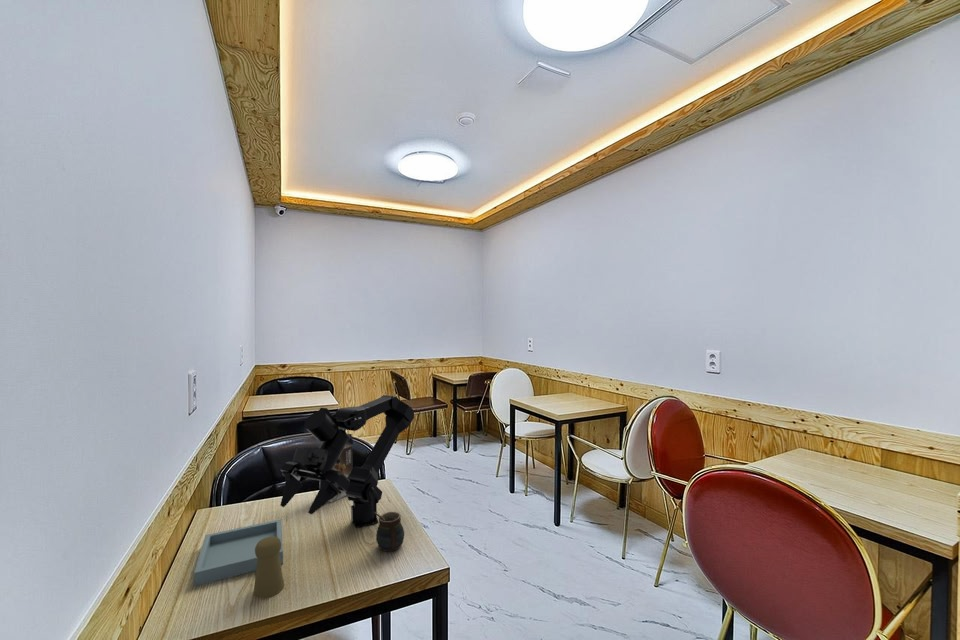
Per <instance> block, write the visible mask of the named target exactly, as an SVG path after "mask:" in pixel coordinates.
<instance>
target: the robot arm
mask: <svg viewBox="0 0 960 640" xmlns="http://www.w3.org/2000/svg"><path fill="white" fill-rule="evenodd" d="M380 414H383V415H385V419H384V420H385V426H384V428H383V429H382V432H381V434H380V435H379V437H378V438H377V440H376V442H375V444H374V445H373V447H372V449H371V450H370V452H369V454H368V456H367V458H366V460H365V461H364V463H363V464H362V465H361V466H360V467H359V466H353V469H352V471H351V473H350V475H349V476H348V477H346V476H345V475H344V474H343V473H342V472H341V471H336V470H332V469H333V467H334V465H335V464H339V463H340V460H339V459H338V458H339V456H340V455H341V453H342V451H343V449H344V447H345V446H346V445H353V444H354V438H353V434H351V433H347V432H346V431H352V432H356V431H359V430H360V429H361V428H363V427H364V426H365V425H366V424H367V421H368V420H370V419H373V418H374V417H377V416H378V415H380ZM414 419H415V411H414V410H413V407H411V406H410V405H408V404H407V403H405V402H403V401H402V400H400V399H399V398H398V397H397V396H396V395H389V394H388V395H387V394H384V395H381V396H380V397H378V398H376V399H374V400H371V401H368V402H367V403H363V404H360V405H359V406H347V407H340V408H338V409H337V410H336V411H335V413H331V412H330V410H329V408H326V407H320V408H319V410H317V411H315V412H313V413H312V414H310V415H309V416H307V418H306V420H305V421H304V428H305V429H306V430H307V431H308V432H309V433H310V434H311V435H312V436H313V437H314V438H315V439H317V441H319V442H321V443H320V445H319V447H314V448H313V449H312V450H307V449H302V448H296V450H295V453H294V455H293V459H292V461H286V462H284V464H283V465H282V467H281V468H280V471H281V473H282V476H283V477H284V480H285V483H284V489H283V492H282V497H281V501H280V507H282V508H285V507H286V505H288V503H289V502H291V500H292V499H293V498H294V496H296V494H297V493H298V492H299V490H300V489H301V488H302V487H303V486H304V484H303V482H305V481H306V480H307V479H309V480H314V481H320V483H319V490H318V491H317V494H316V496H315V497H314V499H313V501H312V503H311V505H310V507H309V508H308V509H309V510H308V514H309V515H313V514H314V513H315V512H316V511H318V510H319V509H320V508H322V507H323V506H324V505H326V503H328V502H329V500H330V499H332V498H333V497H335V496H336V495H338V494H341V493H342V492H341V491H343V492H345V493H346V498H347V501H349V502H350V501H351V502H352V505H350V517H351V518H350V519H351V523H352V524H353V525H354V527H355V528H361V527H365V526H369V525H374V524H379V518H378V516H377V515H376V514H375V513H374V512H376V513H377V512H378V511H377V510H378V507H377V505H378V503H380V502H379V501H380V500H381V499H382V496H383V490H381V489H380V488H379V487H378V484H379V475H378V474H379V471H380V469H381V468H382V466H383V464H384V462H385V460H386V458H387V457H388V455H389V453H390V451H391V449H392V447H393V446H394V444H395V442H396V440H397V439H398V436H399V435H400V434H401V433H402V432H403V431H406V429H407V430H408V428H409V426H410V425H411V424H412V422H413V421H414ZM377 514H378V513H377Z"/></svg>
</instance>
